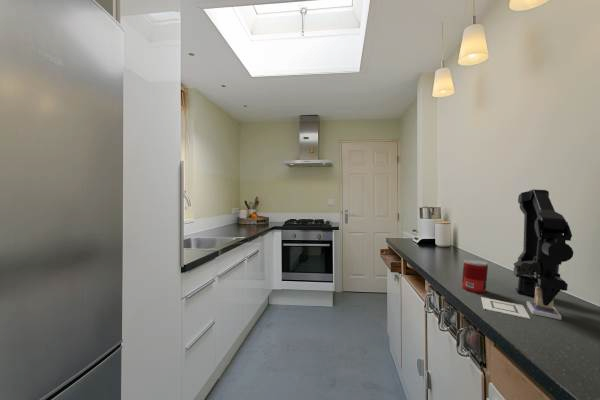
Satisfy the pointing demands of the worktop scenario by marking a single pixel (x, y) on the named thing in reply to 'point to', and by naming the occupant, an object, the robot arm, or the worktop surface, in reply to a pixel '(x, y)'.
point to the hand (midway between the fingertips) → (543, 303)
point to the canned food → (474, 276)
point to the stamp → (541, 301)
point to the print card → (504, 307)
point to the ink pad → (543, 311)
